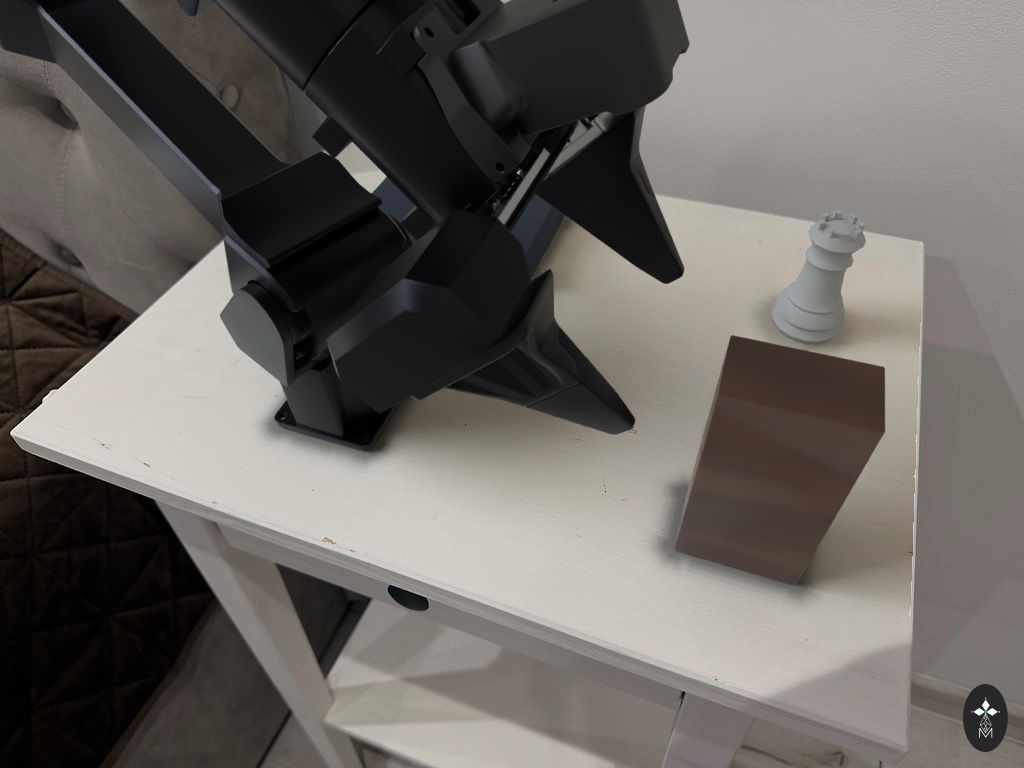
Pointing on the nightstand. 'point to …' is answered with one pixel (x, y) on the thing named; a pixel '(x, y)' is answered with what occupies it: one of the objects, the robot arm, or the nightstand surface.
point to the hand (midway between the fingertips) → (653, 345)
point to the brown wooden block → (779, 456)
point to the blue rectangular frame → (530, 228)
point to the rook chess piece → (820, 281)
